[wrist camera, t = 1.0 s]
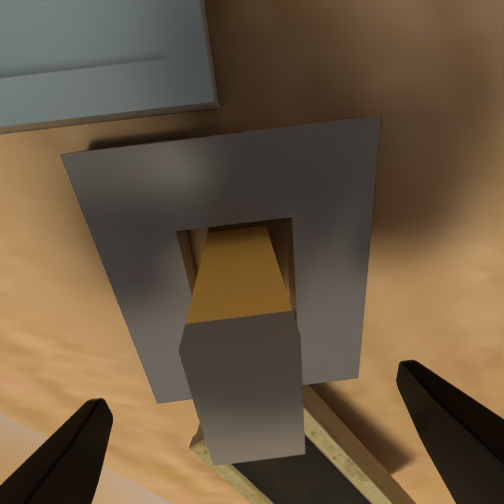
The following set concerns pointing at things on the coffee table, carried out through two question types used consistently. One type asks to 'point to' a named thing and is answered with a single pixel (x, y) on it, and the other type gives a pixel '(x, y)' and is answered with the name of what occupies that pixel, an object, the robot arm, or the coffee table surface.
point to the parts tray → (102, 61)
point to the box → (312, 467)
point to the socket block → (234, 212)
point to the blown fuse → (244, 351)
